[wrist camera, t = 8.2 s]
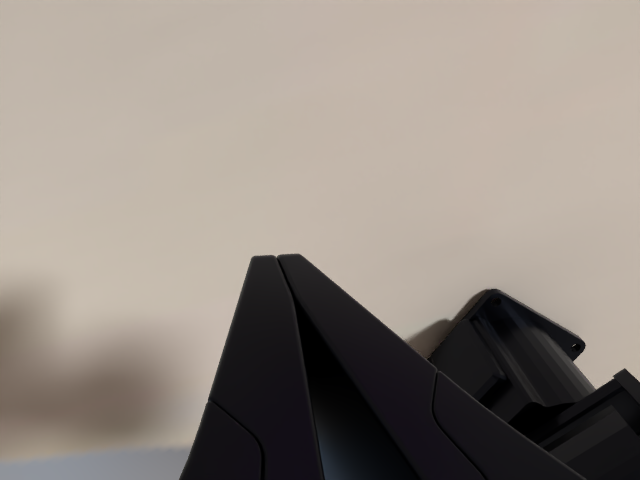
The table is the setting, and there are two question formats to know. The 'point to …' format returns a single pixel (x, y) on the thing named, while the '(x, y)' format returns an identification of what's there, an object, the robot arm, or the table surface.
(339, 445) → the robot arm
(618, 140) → the table surface
